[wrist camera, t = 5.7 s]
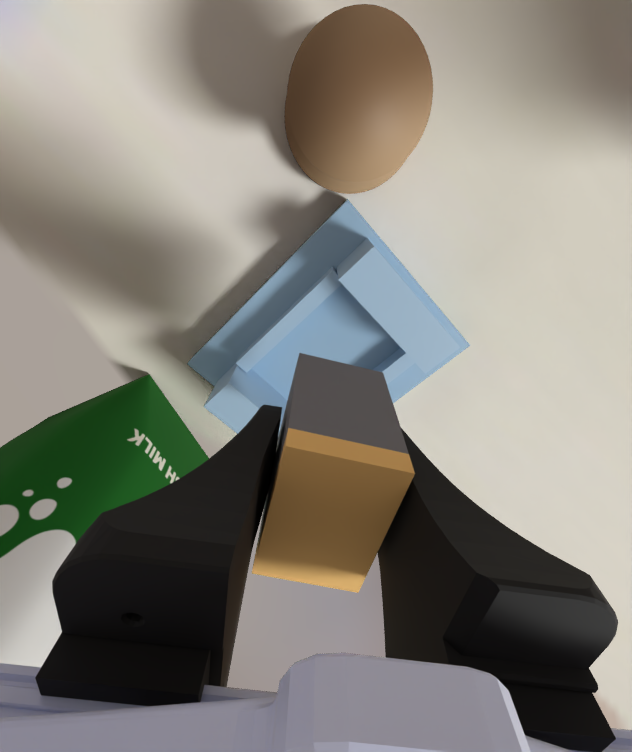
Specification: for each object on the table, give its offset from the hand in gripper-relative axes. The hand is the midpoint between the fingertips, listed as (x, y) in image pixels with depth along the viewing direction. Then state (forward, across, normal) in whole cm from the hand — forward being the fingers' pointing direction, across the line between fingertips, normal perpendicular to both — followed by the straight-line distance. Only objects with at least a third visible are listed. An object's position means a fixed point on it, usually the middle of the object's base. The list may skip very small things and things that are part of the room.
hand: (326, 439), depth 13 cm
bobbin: (+8, +1, -10) cm, 13 cm away
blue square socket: (+8, 0, 0) cm, 8 cm away
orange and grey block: (+2, 0, 0) cm, 2 cm away
